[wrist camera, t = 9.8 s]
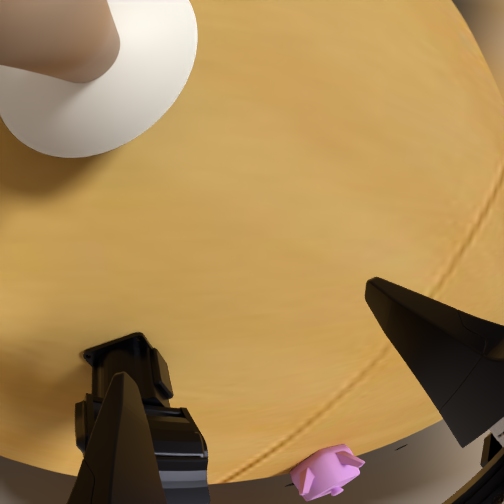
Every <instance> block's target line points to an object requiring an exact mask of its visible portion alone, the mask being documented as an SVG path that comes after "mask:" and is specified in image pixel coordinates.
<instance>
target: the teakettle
mask: <svg viewBox="0 0 504 504" xmlns="http://www.w3.org/2000/svg"><path fill="white" fill-rule="evenodd" d="M364 463H365V461H363V460H361V459H359V458H357V457H355V456H354V455H353V453H352V452H351V450H350V449H349V447H347V446H346V445H345V444H341V445H336V446H332V447H328V448H324V449H320V450H318V451H317V452H315V453H314V454H312V455H311V456H310V457H308V458H307V459H305V460H304V461H303V462H301V463H300V464H299V465H297V466H296V467H295V468H294V469H292V470H291V471H290V475H291V479H292V481H293V483H294V484H295V486H296V487H297V488H298V490H299V495H302V496H303V498H304V499H305V500H306V501H309V500H312V499H315V498H318V497H321V496H323V495H326V494H329V493H331V495H332V496H335V495H337V494H339V493H341V492H342V491H343V489H342V488H341V486H343V485H345V484H346V483H348V482H349V481H351V480H352V479H354V478H355V477H357V476H358V475H359V474H360V471H359V467H361V466H362V465H363V464H364Z"/></svg>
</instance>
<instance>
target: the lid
mask: <svg viewBox="0 0 504 504" xmlns="http://www.w3.org/2000/svg"><path fill="white" fill-rule="evenodd" d="M196 49H197V24H196V18H195V15H194V12H193V9H192V6H191V4H190V2H189V0H0V115H1V118H2V120H3V122H4V123H5V125H6V126H7V127H8V129H9V130H10V132H11V133H12V134H13V135H14V136H15V137H16V138H17V139H18V140H20V141H21V142H22V143H24V144H25V145H26V146H28V147H30V148H32V149H34V150H36V151H38V152H41V153H44V154H47V155H50V156H56V157H62V158H78V157H88V156H92V155H97V154H101V153H104V152H107V151H110V150H113V149H115V148H117V147H119V146H122V145H124V144H126V143H128V142H129V141H131V140H133V139H134V138H136V137H138V136H139V135H141V134H142V133H143V132H145V131H146V130H147V129H148V128H150V127H151V126H152V125H153V124H154V123H155V122H156V121H158V120H159V119H160V118H161V117H162V116H163V115H164V114H165V112H166V111H167V110H168V109H169V108H170V107H171V105H172V104H173V103H174V101H175V100H176V98H177V97H178V96H179V94H180V93H181V91H182V89H183V87H184V85H185V83H186V82H187V80H188V77H189V75H190V72H191V70H192V67H193V63H194V59H195V56H196Z"/></svg>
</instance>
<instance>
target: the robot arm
mask: <svg viewBox="0 0 504 504" xmlns="http://www.w3.org/2000/svg"><path fill="white" fill-rule="evenodd" d="M365 300H366V302H367V304H368V306H369V307H370V309H371V311H372V312H373V314H374V316H375V318H376V319H377V321H378V323H379V325H380V326H381V328H382V330H383V331H384V333H385V334H386V336H387V337H388V339H389V340H390V341H391V343H392V344H393V346H394V347H395V348H396V350H397V351H398V352H399V354H400V355H401V357H402V358H403V360H404V361H405V362H406V364H407V365H408V367H409V368H410V369H411V371H412V372H413V374H414V375H415V377H416V378H417V380H418V381H419V382H420V384H421V385H422V387H423V388H424V390H425V391H426V393H427V394H428V396H429V397H430V399H431V400H432V402H433V403H434V405H435V406H436V408H437V409H438V411H439V413H440V414H441V416H442V417H443V419H444V420H445V422H446V423H447V425H448V427H449V428H450V430H451V431H452V433H453V435H454V436H455V438H456V439H457V441H458V443H459V444H460V446H461V447H462V448H464V447H465V446H467V445H468V444H469V443H471V442H472V441H474V440H475V439H476V438H478V437H479V436H480V435H482V434H483V433H484V432H486V431H487V430H488V429H489V430H490V431H491V432H490V434H489V435H488V436H487V437H486V438H485V439H484V445H483V452H482V458H481V466H482V467H483V469H481V470H480V471H479V472H478V473H477V474H476V475H475V476H474V477H473V478H472V479H471V480H470V481H469V482H468V483H466V484H465V485H464V486H463V487H462V488H461V489H459V490H458V491H457V492H456V493H455V494H453V496H451V497H450V498H449V499H447V500H446V501H445V502H444V503H442V504H504V326H503V325H499V324H496V323H493V322H490V321H487V320H484V319H481V318H478V317H475V316H473V315H470V314H468V313H465V312H463V311H460V310H457V309H455V308H453V307H451V306H448V305H446V304H443V303H441V302H439V301H436V300H434V299H431V298H429V297H426V296H424V295H422V294H419V293H417V292H414V291H412V290H409V289H407V288H404V287H402V286H399V285H397V284H394V283H392V282H389V281H387V280H384V279H382V278H379V277H374V278H372V279H369V280H368V281H367V282H366V290H365ZM138 337H140V338H138ZM83 357H84V358H85V360H86V361H87V362H88V363H89V364H90V365H91V366H92V394H88V393H86V396H85V401H84V400H83V401H82V402H79V403H76V404H75V436H76V446H77V447H78V448H79V449H80V450H81V451H82V453H83V457H84V459H83V460H82V464H81V467H80V470H79V473H78V476H77V479H76V482H75V484H74V487H73V489H72V492H71V494H70V497H69V499H68V501H67V504H210V496H209V490H208V484H207V465H208V450H207V445H206V442H205V440H204V438H203V436H202V434H201V432H200V431H199V429H198V427H197V426H196V424H195V422H194V421H193V419H192V417H191V415H190V414H189V412H188V410H187V408H181V407H180V408H171V407H170V404H169V399H171V398H172V397H173V391H172V386H171V381H170V377H169V371H168V366H167V363H166V362H165V360H164V359H163V358H162V356H161V355H160V353H159V352H158V350H157V349H156V348H152V346H151V345H150V343H149V342H148V340H147V339H146V337H145V336H144V334H143V333H141V332H137V333H134V334H131V335H128V336H126V337H123V338H120V339H117V340H114V341H111V342H108V343H106V344H103V345H100V346H97V347H94V348H91V349H88V350H85V351H84V355H83Z"/></svg>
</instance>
